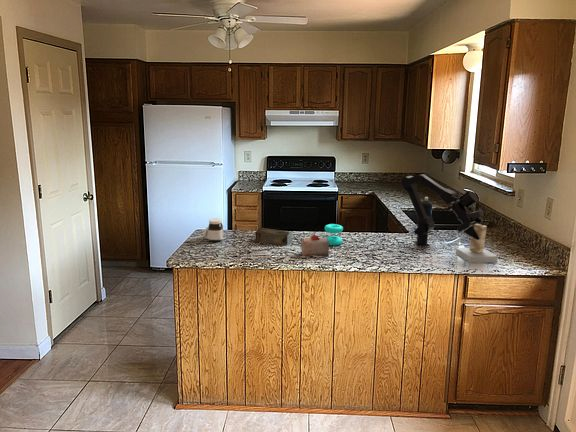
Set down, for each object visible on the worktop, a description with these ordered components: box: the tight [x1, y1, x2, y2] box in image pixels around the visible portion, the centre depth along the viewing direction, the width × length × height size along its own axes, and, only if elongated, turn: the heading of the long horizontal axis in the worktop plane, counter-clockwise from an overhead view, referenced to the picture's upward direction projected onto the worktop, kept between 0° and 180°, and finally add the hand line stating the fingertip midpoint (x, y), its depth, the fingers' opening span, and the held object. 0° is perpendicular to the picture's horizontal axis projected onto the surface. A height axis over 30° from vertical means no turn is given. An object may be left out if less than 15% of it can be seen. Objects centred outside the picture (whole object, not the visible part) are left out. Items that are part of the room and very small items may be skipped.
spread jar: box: [202, 218, 224, 243], centre depth 252 cm, size 12×11×12 cm
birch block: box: [469, 224, 488, 253], centre depth 228 cm, size 5×5×13 cm
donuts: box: [324, 223, 344, 246], centre depth 250 cm, size 10×10×10 cm
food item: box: [300, 234, 330, 257], centre depth 231 cm, size 14×8×10 cm, turn 97°
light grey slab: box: [455, 247, 498, 264], centre depth 231 cm, size 14×14×3 cm
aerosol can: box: [416, 196, 434, 229], centre depth 280 cm, size 8×8×20 cm
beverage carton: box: [254, 227, 293, 246], centre depth 252 cm, size 8×19×7 cm, turn 70°
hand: (480, 238), depth 227 cm, fingers closed on birch block, 5 cm apart
